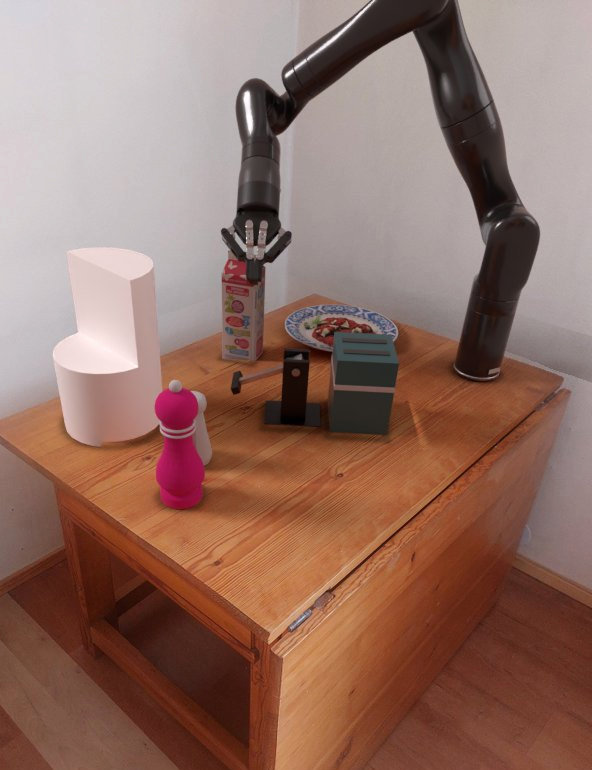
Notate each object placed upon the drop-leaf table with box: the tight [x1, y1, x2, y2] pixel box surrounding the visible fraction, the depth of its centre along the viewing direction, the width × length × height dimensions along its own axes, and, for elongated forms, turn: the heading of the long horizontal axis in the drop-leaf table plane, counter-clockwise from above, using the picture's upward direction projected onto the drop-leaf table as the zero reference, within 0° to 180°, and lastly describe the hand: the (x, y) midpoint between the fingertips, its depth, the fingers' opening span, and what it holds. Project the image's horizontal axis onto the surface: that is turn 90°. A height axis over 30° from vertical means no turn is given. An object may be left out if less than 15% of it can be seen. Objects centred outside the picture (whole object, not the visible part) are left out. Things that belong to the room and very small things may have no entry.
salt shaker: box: [190, 390, 213, 467], centre depth 100 cm, size 6×6×13 cm
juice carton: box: [221, 249, 266, 362], centre depth 130 cm, size 7×7×22 cm
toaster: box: [327, 332, 400, 436], centre depth 112 cm, size 10×11×15 cm
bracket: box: [263, 347, 322, 428], centre depth 112 cm, size 10×8×13 cm
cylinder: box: [52, 246, 164, 448], centre depth 105 cm, size 17×17×28 cm
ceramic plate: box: [284, 304, 399, 353], centre depth 145 cm, size 26×26×3 cm
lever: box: [230, 354, 304, 396], centre depth 111 cm, size 13×6×2 cm, turn 87°
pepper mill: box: [155, 379, 206, 510], centre depth 91 cm, size 7×7×20 cm
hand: (253, 283), depth 110 cm, fingers closed
